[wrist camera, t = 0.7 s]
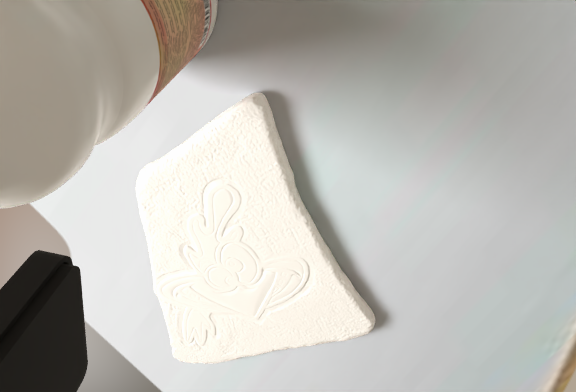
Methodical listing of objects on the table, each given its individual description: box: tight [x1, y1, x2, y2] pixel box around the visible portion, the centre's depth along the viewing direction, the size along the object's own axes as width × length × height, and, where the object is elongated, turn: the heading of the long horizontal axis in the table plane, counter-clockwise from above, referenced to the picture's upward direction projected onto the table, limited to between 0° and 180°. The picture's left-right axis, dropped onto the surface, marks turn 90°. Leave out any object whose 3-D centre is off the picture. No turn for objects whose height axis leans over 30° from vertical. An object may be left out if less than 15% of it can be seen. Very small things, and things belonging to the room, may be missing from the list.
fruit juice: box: [0, 0, 218, 209], centre depth 25 cm, size 9×9×28 cm
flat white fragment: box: [136, 93, 376, 364], centre depth 47 cm, size 21×4×25 cm
